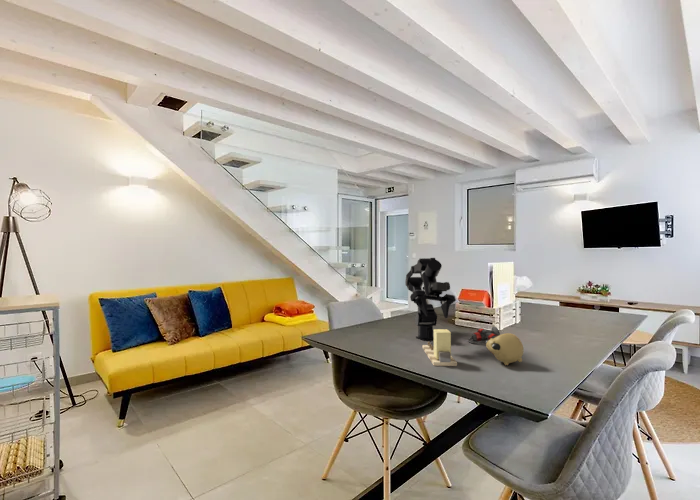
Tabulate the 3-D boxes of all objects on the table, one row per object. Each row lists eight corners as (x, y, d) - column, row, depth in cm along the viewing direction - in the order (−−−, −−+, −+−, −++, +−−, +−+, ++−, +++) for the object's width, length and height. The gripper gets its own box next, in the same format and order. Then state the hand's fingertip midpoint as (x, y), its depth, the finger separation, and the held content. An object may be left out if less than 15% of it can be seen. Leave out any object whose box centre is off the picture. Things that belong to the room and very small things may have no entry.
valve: (460, 341, 158) (491, 336, 159) (487, 362, 132) (524, 355, 133) (458, 328, 158) (489, 322, 159) (485, 346, 132) (522, 339, 133)
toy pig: (482, 358, 126) (482, 329, 126) (515, 358, 126) (515, 329, 126) (493, 367, 116) (493, 336, 116) (528, 367, 116) (528, 336, 116)
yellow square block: (433, 355, 125) (433, 329, 126) (447, 355, 125) (447, 329, 125) (436, 359, 120) (436, 332, 121) (450, 359, 120) (450, 332, 120)
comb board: (422, 347, 140) (422, 337, 140) (442, 347, 140) (441, 337, 140) (433, 365, 118) (433, 353, 118) (456, 365, 118) (456, 353, 118)
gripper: (420, 270, 139) (426, 305, 130) (459, 277, 144) (467, 310, 135) (407, 283, 147) (412, 317, 138) (444, 289, 153) (452, 322, 143)
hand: (436, 316), depth 138 cm, fingers open, 9 cm apart
